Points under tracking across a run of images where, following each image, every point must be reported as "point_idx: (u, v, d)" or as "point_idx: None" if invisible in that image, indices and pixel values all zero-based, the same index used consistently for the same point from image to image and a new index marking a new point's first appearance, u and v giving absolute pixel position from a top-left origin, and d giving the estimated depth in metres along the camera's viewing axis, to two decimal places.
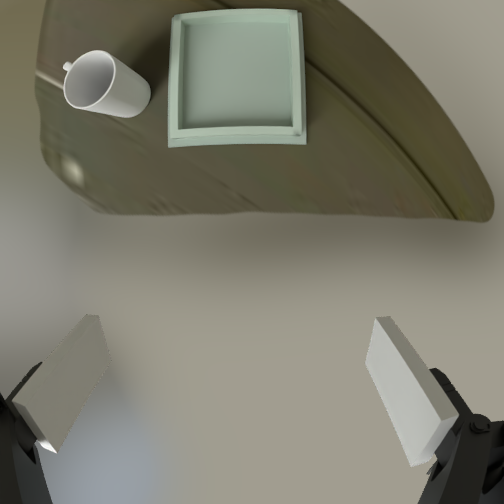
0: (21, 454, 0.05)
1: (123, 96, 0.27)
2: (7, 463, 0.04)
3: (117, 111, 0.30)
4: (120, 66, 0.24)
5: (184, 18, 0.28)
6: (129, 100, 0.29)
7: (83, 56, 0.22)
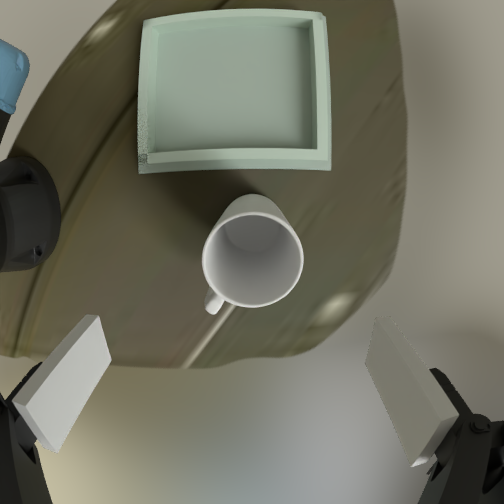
0: (21, 454, 0.05)
1: (278, 212, 0.22)
2: (7, 463, 0.04)
3: None
4: (236, 211, 0.20)
5: (146, 148, 0.26)
6: (277, 209, 0.24)
7: (207, 275, 0.20)
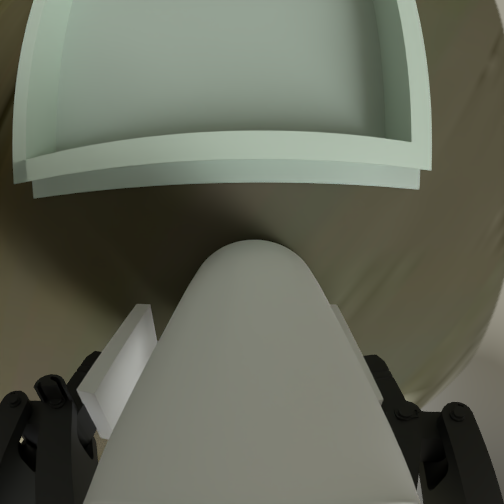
0: (80, 450, 0.06)
1: (341, 356, 0.06)
2: (63, 460, 0.05)
3: None
4: (177, 423, 0.04)
5: (23, 149, 0.09)
6: (326, 315, 0.08)
7: None
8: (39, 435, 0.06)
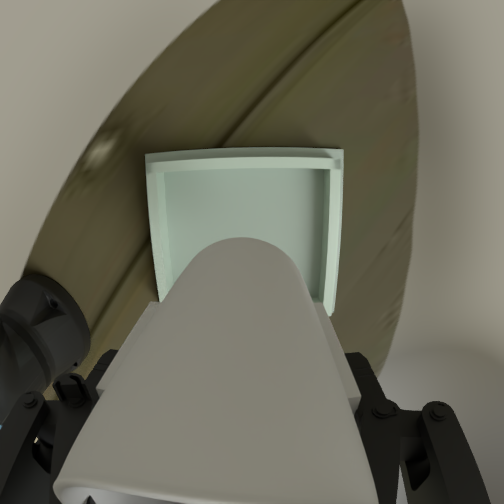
0: None
1: (308, 355, 0.06)
2: None
3: None
4: (134, 410, 0.04)
5: None
6: (301, 313, 0.08)
7: None
8: (56, 434, 0.06)
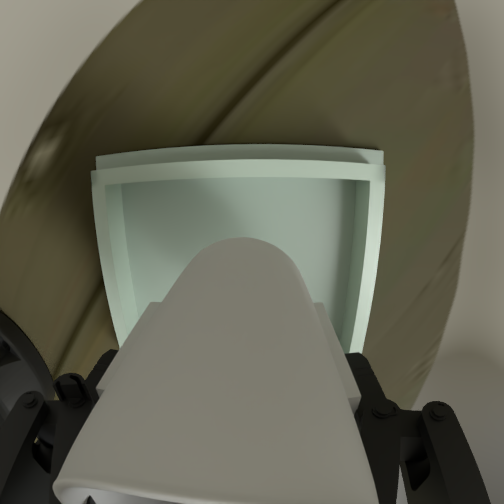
0: None
1: (308, 355, 0.06)
2: None
3: None
4: (134, 410, 0.04)
5: None
6: (301, 313, 0.08)
7: None
8: (56, 434, 0.06)
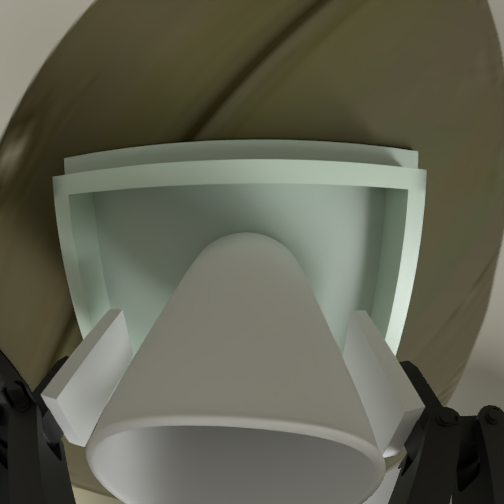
0: (47, 451, 0.06)
1: (309, 321, 0.07)
2: (32, 461, 0.05)
3: None
4: (168, 362, 0.05)
5: None
6: (301, 292, 0.09)
7: (123, 496, 0.05)
8: (9, 438, 0.05)
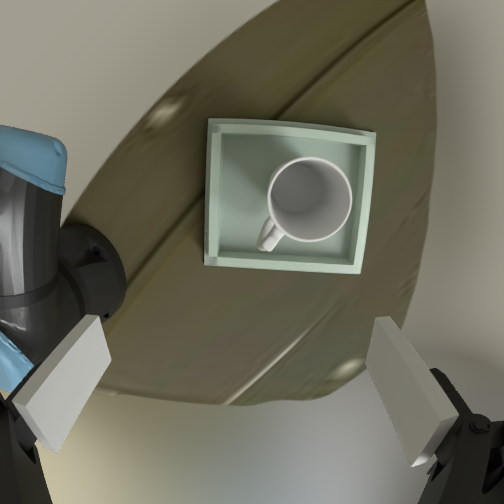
0: (21, 454, 0.05)
1: None
2: (7, 463, 0.04)
3: None
4: None
5: (216, 252, 0.34)
6: (323, 168, 0.27)
7: (270, 210, 0.23)
8: None
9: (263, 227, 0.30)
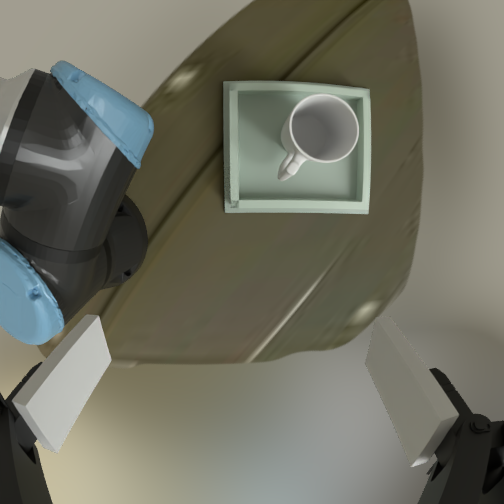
0: (21, 454, 0.05)
1: None
2: (7, 463, 0.04)
3: None
4: None
5: (237, 196, 0.36)
6: None
7: (293, 137, 0.25)
8: None
9: (281, 166, 0.33)
